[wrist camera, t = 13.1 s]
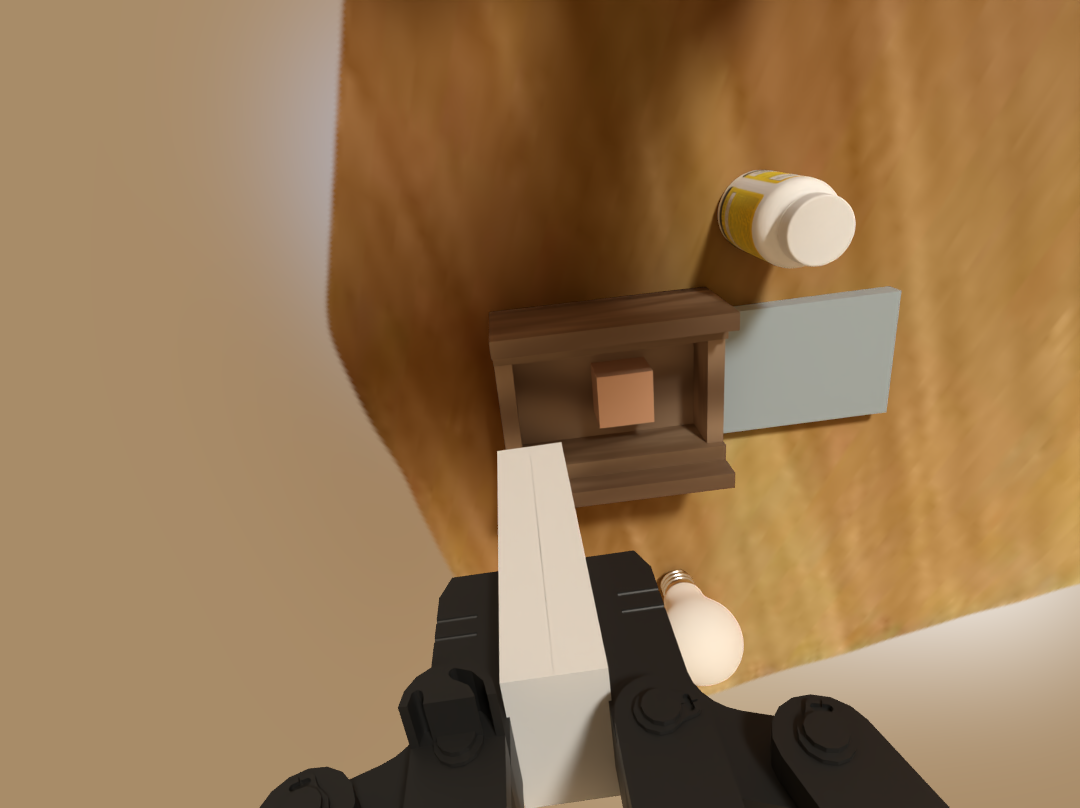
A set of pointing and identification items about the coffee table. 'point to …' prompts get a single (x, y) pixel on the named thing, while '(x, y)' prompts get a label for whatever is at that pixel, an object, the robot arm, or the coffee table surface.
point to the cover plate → (810, 359)
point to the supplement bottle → (786, 219)
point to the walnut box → (567, 398)
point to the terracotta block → (622, 392)
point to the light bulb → (702, 630)
